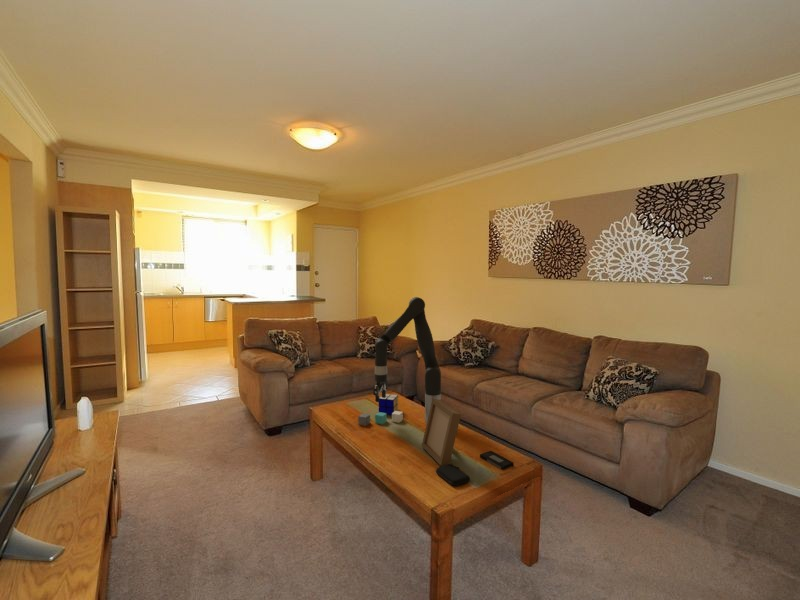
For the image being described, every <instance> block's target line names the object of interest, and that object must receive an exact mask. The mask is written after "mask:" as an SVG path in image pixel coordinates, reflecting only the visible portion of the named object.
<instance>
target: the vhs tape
mask: <svg viewBox="0 0 800 600" xmlns="http://www.w3.org/2000/svg"><path fill="white" fill-rule="evenodd" d="M479 458H480V459H482V460H483V461H486V462H487V463H489V464H491V465H493V466H494V467H496V468H498V469H500V470H502V471H503V470H506V469H509V468H511V467H513V466H514V463H515V462H514V461H511V460H510V459H507V458H506V457H503V456H502V455H500V454H498V453H496V452H494V451H492V450H489V451H485V452H483V453H479Z"/></svg>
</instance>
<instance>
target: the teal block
mask: <svg viewBox="0 0 800 600" xmlns="http://www.w3.org/2000/svg"><path fill="white" fill-rule="evenodd" d="M374 415H375V417H374V420H375V421H374V422H375V424H379V425H384V424H385V423H386V422H387V416H388V415H387V413H382V412H379V411H378V412H377V413H376V414H374Z"/></svg>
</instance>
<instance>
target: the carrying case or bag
mask: <svg viewBox="0 0 800 600" xmlns="http://www.w3.org/2000/svg"><path fill="white" fill-rule="evenodd" d="M435 472H436V474H437V475H438V476H440V478H441V479H443V480H444V481H446V482H447V483H448V484H449V485H451V486H452V487H459V486H462V485H465V484H467V483H469V482H470V481H471V478H470V476H469V475H468V474H466V473H465V472H464V471H462V470H461V469H460V467H458V466H456V465H454V464H451V463H450V464H448V465H445V466H439V467H437V468H436V469H435Z"/></svg>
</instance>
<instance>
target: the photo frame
mask: <svg viewBox="0 0 800 600" xmlns="http://www.w3.org/2000/svg"><path fill="white" fill-rule="evenodd" d="M461 415H462V414H461V413H460V412H459V411H457V410H456V409H454V408H453V407H451V406H450V405H449V404H447V403H445V402H444V401H443V400H438V399H432V403H431V407H430V412H429V416H428V420H427V423H426V425H425V430H424V434H423V439H422V443H421V447H422V448H423V450H425V451H426V452H427V454H429V455H430V456H431V457H432V459H434V460H435V462H437V464H439V467H441V466H445V465H448V464H451V459H452V455H453V451H454V446H455V443H456V442H455V441H456V439H457V438H456V437H457V434H458V433H457V432H458V430H459V429H458V428H459V424H460V420H461Z"/></svg>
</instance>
